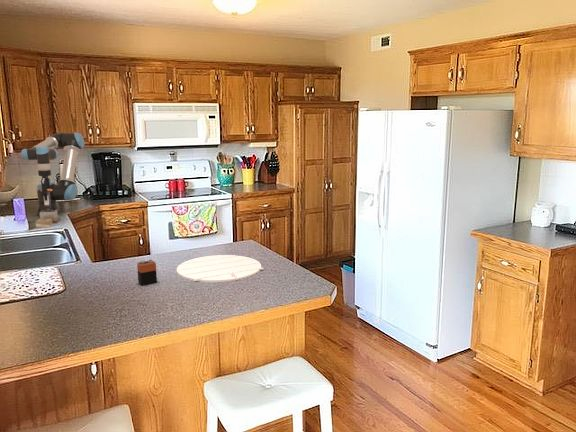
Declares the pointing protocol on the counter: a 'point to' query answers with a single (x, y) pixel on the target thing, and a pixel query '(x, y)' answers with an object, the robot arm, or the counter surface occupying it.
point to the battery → (147, 272)
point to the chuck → (50, 215)
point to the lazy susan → (219, 268)
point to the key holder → (43, 223)
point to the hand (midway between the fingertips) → (47, 204)
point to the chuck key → (49, 200)
